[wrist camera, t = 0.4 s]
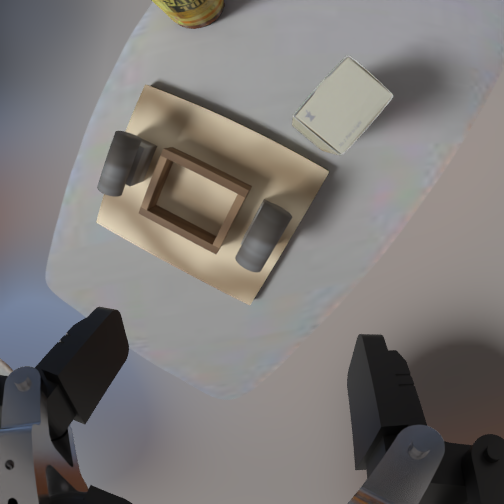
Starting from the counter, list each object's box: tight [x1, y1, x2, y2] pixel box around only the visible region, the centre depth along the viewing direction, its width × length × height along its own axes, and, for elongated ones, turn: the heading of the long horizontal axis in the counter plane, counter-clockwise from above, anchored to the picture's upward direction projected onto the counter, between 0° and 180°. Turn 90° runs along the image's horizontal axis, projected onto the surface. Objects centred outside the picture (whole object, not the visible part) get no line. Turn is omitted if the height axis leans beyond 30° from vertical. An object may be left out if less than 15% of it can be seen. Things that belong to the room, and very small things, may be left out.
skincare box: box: [292, 56, 394, 156], centre depth 23 cm, size 6×4×12 cm
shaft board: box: [96, 85, 329, 305], centre depth 30 cm, size 18×22×7 cm
